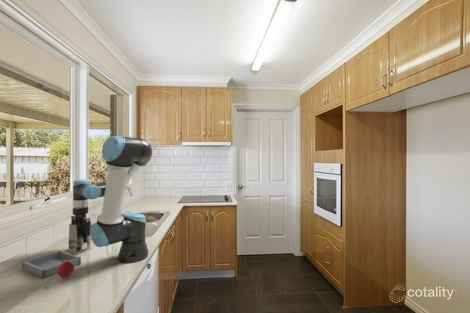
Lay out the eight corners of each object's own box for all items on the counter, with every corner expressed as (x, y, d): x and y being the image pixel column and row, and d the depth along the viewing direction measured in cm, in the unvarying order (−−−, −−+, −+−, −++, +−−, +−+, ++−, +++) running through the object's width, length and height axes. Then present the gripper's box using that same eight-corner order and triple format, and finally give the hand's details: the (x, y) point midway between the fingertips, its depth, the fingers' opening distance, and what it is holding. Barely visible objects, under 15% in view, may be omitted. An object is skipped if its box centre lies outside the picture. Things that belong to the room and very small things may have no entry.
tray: (80, 264, 117) (80, 257, 117) (42, 278, 103) (43, 270, 103) (60, 257, 125) (60, 250, 125) (22, 269, 111) (22, 262, 111)
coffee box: (77, 254, 129) (78, 225, 129) (67, 253, 130) (68, 224, 131) (90, 248, 138) (91, 220, 138) (81, 247, 139) (82, 220, 140)
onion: (71, 273, 108) (71, 256, 108) (75, 277, 104) (76, 259, 104) (55, 278, 103) (56, 260, 103) (59, 283, 100) (60, 264, 100)
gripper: (98, 207, 133) (97, 248, 133) (76, 204, 142) (76, 242, 142) (84, 210, 127) (83, 252, 126) (63, 206, 136) (62, 246, 135)
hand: (79, 247), depth 134 cm, fingers closed on coffee box, 7 cm apart
